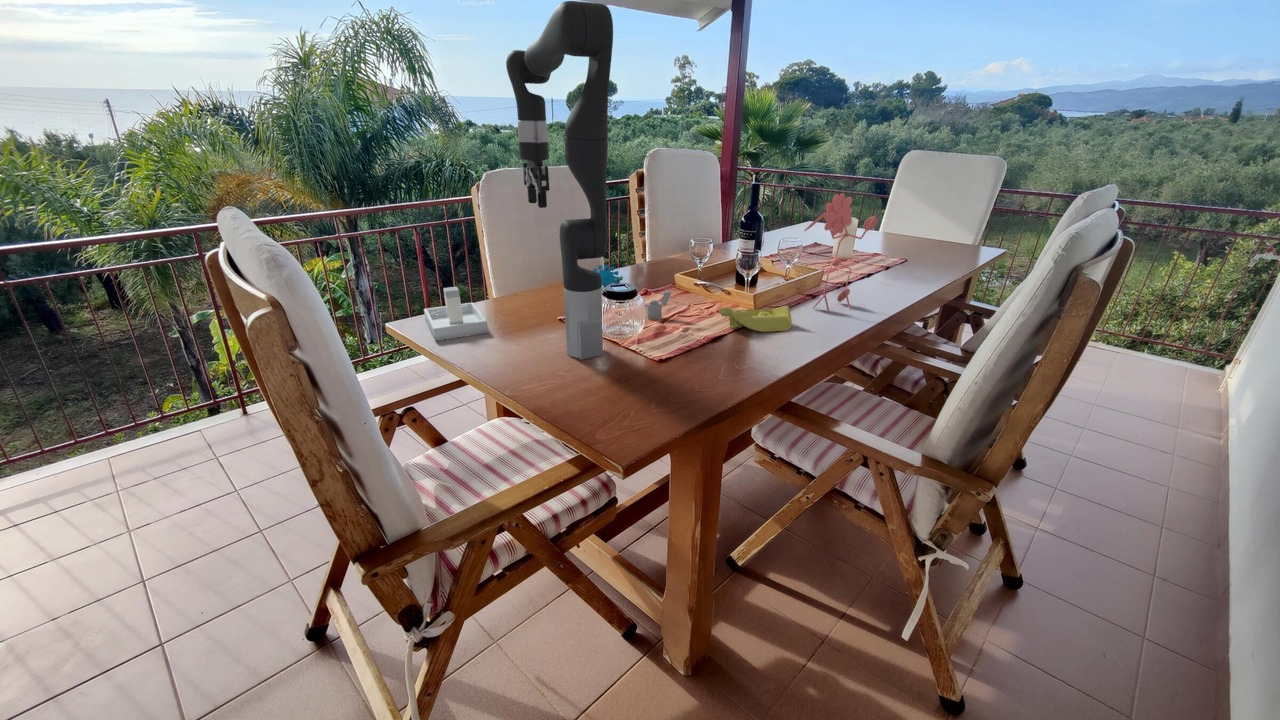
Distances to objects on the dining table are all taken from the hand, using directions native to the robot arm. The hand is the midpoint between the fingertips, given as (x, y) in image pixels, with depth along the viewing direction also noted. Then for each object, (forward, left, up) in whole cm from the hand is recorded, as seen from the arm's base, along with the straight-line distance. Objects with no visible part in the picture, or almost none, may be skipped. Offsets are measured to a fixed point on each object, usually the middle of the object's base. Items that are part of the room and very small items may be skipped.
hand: (537, 205), depth 146 cm
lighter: (-11, -32, -33) cm, 47 cm away
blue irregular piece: (+24, -31, -33) cm, 51 cm away
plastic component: (-29, -53, -34) cm, 69 cm away
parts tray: (+7, +24, -33) cm, 41 cm away
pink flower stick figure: (-24, -86, -33) cm, 95 cm away
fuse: (+7, +24, -32) cm, 41 cm away
